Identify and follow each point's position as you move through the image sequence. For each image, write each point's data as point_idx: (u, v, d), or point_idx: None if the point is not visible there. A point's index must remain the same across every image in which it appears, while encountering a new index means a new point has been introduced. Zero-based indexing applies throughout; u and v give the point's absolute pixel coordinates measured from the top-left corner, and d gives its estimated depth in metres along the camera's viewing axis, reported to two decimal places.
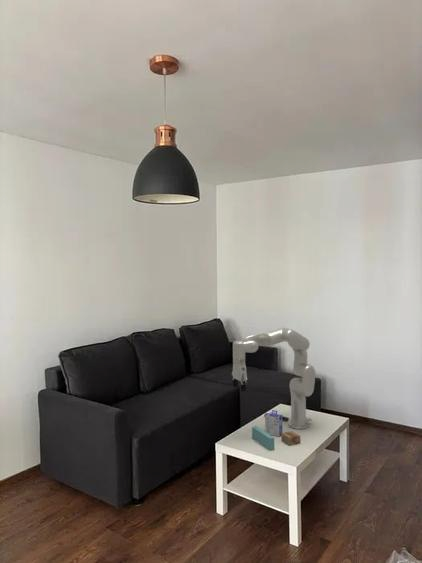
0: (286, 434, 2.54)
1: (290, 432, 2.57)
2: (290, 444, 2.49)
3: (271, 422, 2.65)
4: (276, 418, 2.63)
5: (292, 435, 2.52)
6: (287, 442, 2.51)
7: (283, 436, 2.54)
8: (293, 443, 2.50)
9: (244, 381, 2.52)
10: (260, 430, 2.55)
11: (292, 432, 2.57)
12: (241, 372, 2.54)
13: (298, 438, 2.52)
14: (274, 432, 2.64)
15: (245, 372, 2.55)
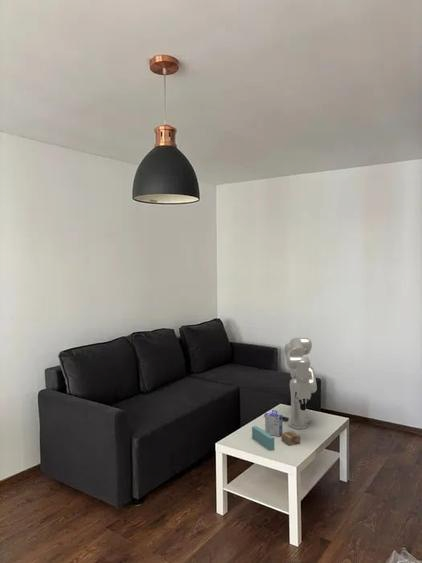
0: (286, 434, 2.54)
1: (290, 432, 2.57)
2: (289, 444, 2.49)
3: (271, 422, 2.65)
4: (276, 418, 2.63)
5: (291, 435, 2.52)
6: (287, 442, 2.51)
7: (283, 436, 2.54)
8: (292, 443, 2.50)
9: (307, 398, 2.58)
10: (260, 430, 2.55)
11: (292, 432, 2.57)
12: None
13: (298, 438, 2.51)
14: (274, 432, 2.64)
15: None
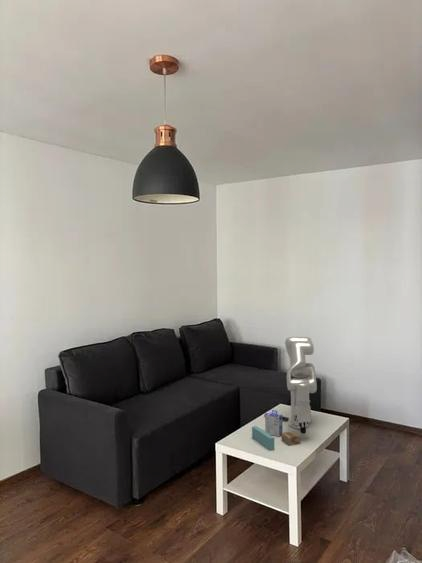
0: (286, 434, 2.54)
1: (290, 432, 2.57)
2: (289, 444, 2.49)
3: (271, 422, 2.65)
4: (276, 418, 2.63)
5: (291, 435, 2.52)
6: (287, 442, 2.51)
7: (283, 436, 2.55)
8: (292, 443, 2.50)
9: (308, 422, 2.58)
10: (260, 430, 2.55)
11: (292, 432, 2.57)
12: None
13: (297, 438, 2.51)
14: (274, 432, 2.64)
15: None
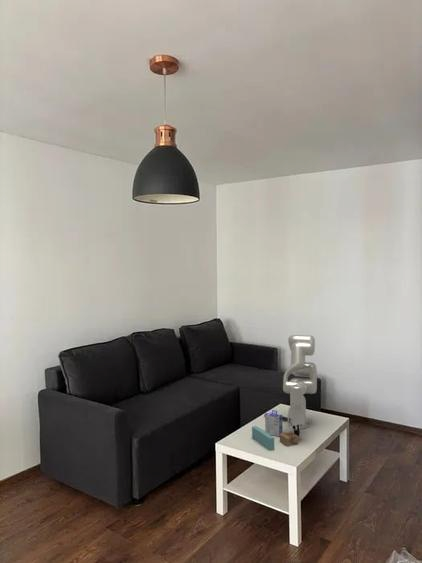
0: (284, 434, 2.53)
1: (288, 432, 2.57)
2: (287, 445, 2.48)
3: (271, 422, 2.65)
4: (276, 418, 2.63)
5: (290, 436, 2.51)
6: (285, 442, 2.50)
7: (281, 436, 2.54)
8: (291, 443, 2.49)
9: (301, 424, 2.56)
10: (260, 430, 2.55)
11: (290, 433, 2.56)
12: None
13: (296, 438, 2.51)
14: (274, 432, 2.64)
15: None
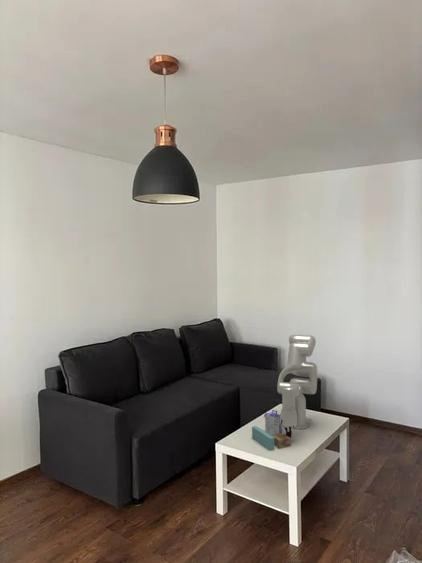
0: (276, 436, 2.50)
1: (280, 434, 2.54)
2: (280, 447, 2.46)
3: (271, 422, 2.65)
4: (276, 418, 2.63)
5: (282, 438, 2.49)
6: (277, 445, 2.47)
7: None
8: (283, 445, 2.47)
9: (293, 426, 2.54)
10: (260, 430, 2.55)
11: (282, 434, 2.53)
12: None
13: (288, 440, 2.48)
14: (274, 432, 2.64)
15: None
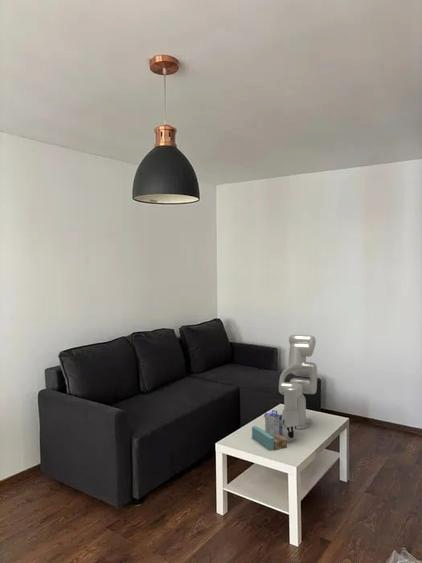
0: None
1: (276, 435, 2.52)
2: (276, 448, 2.44)
3: (271, 422, 2.65)
4: (276, 418, 2.63)
5: (278, 439, 2.47)
6: None
7: None
8: (279, 447, 2.45)
9: (295, 426, 2.55)
10: (260, 430, 2.55)
11: (279, 436, 2.52)
12: None
13: (284, 441, 2.46)
14: (274, 432, 2.64)
15: None
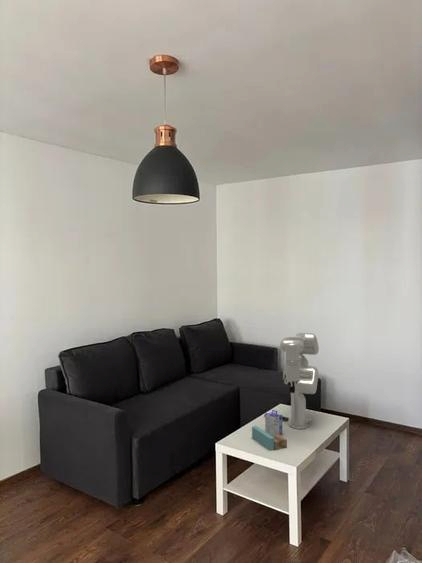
0: None
1: (276, 435, 2.52)
2: (276, 448, 2.44)
3: (271, 422, 2.65)
4: (276, 418, 2.63)
5: (278, 439, 2.47)
6: None
7: None
8: (279, 447, 2.45)
9: (297, 381, 2.59)
10: (260, 430, 2.55)
11: (279, 436, 2.52)
12: None
13: (284, 441, 2.46)
14: (274, 432, 2.64)
15: None
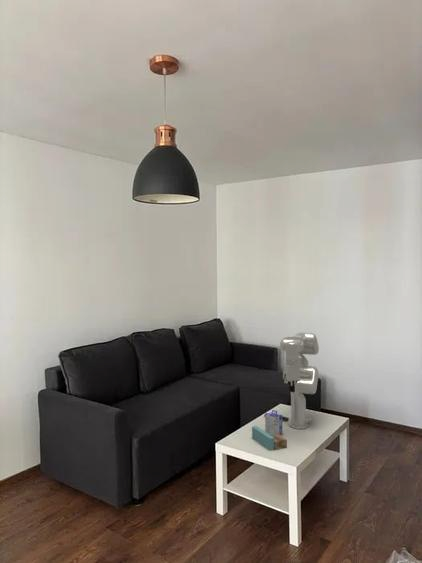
0: None
1: (277, 435, 2.52)
2: (276, 448, 2.44)
3: (271, 422, 2.65)
4: (276, 418, 2.63)
5: (278, 439, 2.47)
6: None
7: None
8: (279, 447, 2.45)
9: (297, 380, 2.59)
10: (260, 430, 2.55)
11: (279, 436, 2.52)
12: None
13: (284, 442, 2.46)
14: (274, 432, 2.64)
15: None
